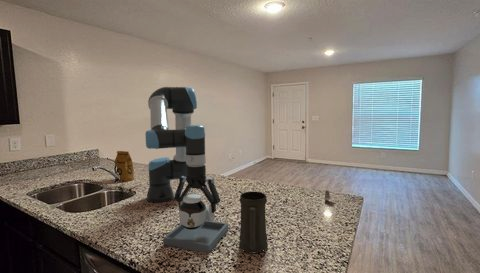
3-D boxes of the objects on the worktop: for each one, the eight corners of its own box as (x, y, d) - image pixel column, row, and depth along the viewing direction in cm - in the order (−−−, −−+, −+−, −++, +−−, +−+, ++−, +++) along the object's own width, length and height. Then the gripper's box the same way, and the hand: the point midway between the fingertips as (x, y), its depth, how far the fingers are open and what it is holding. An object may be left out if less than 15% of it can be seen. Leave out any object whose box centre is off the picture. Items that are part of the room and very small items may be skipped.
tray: (163, 245, 97) (163, 237, 96) (188, 224, 115) (188, 217, 114) (209, 253, 91) (209, 245, 91) (228, 230, 109) (228, 223, 109)
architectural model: (331, 201, 143) (332, 188, 142) (331, 205, 137) (331, 192, 136) (325, 200, 144) (325, 188, 144) (324, 205, 138) (324, 191, 137)
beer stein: (237, 238, 101) (237, 190, 98) (264, 237, 102) (265, 189, 99) (241, 263, 86) (241, 208, 83) (272, 261, 87) (273, 206, 84)
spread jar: (176, 227, 99) (175, 198, 98) (192, 216, 109) (191, 190, 108) (204, 232, 95) (203, 202, 94) (217, 220, 105) (216, 193, 104)
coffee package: (125, 182, 184) (123, 152, 182) (113, 180, 190) (111, 151, 187) (136, 179, 193) (134, 150, 191) (125, 177, 198) (123, 149, 196)
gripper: (163, 165, 100) (165, 218, 102) (220, 168, 93) (221, 226, 95) (174, 161, 107) (176, 211, 109) (228, 164, 100) (228, 218, 102)
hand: (197, 218), depth 102 cm, fingers closed on spread jar, 12 cm apart
